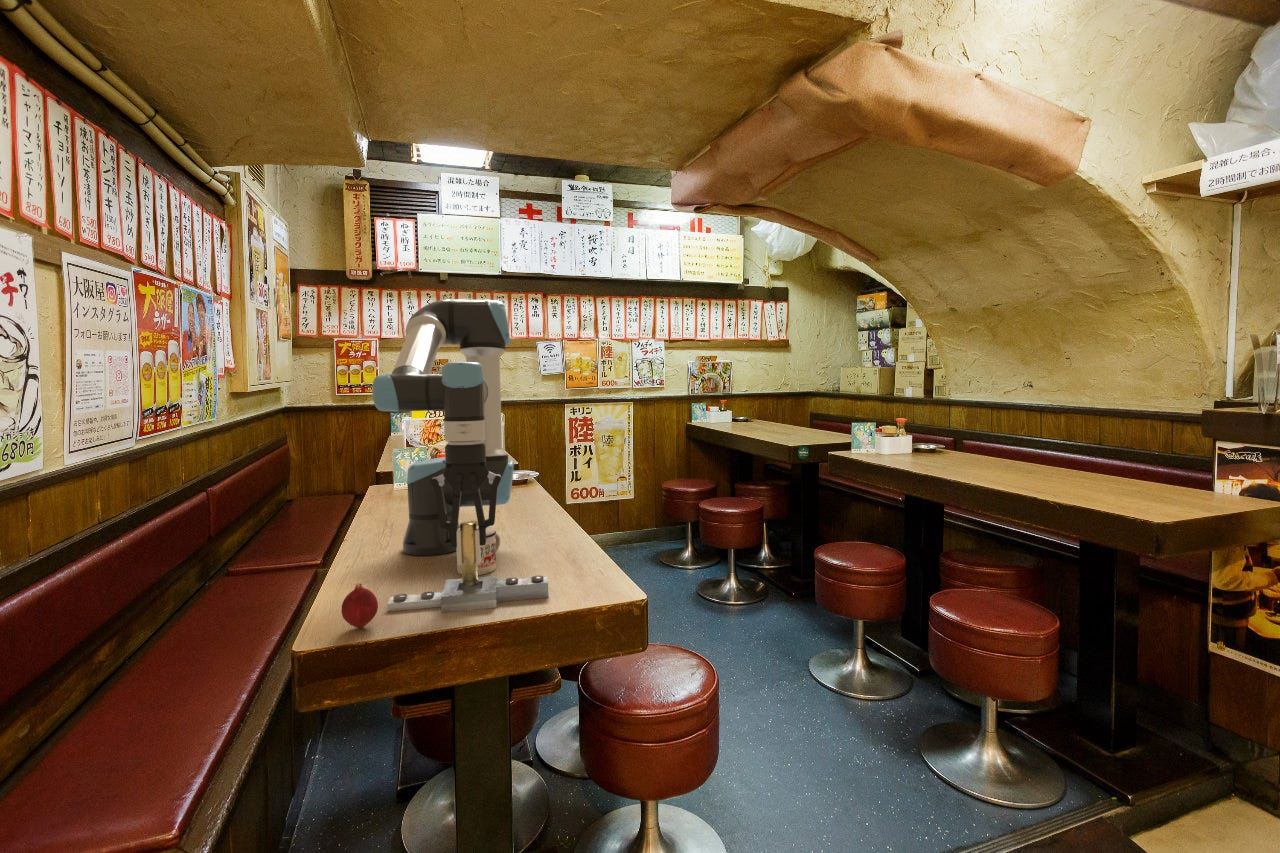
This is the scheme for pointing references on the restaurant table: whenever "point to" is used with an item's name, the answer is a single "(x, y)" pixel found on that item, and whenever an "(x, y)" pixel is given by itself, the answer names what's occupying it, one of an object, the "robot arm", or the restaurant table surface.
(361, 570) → the restaurant table surface
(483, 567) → the teacup with lid
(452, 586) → the studded slotted bracket
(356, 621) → the onion
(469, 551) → the brass pin
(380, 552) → the restaurant table surface
